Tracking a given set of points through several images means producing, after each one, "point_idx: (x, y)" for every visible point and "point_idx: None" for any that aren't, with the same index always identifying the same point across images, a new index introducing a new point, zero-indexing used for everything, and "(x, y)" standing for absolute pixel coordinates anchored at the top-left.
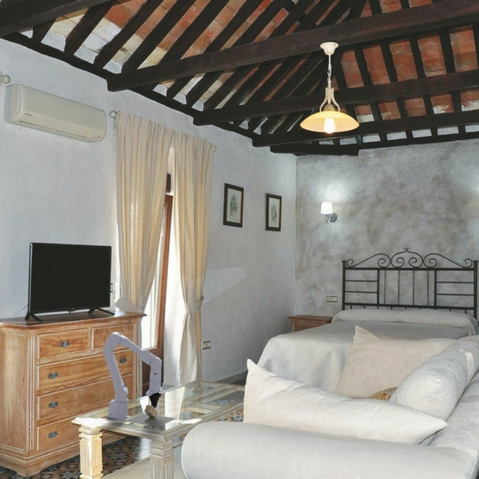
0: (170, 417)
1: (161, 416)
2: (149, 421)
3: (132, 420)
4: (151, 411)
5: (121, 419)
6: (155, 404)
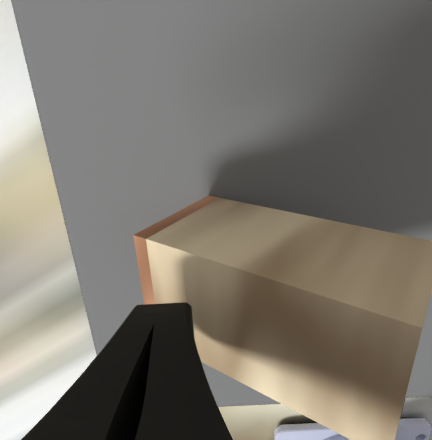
0: (18, 11)
1: (76, 176)
2: (400, 176)
3: (427, 352)
4: (397, 250)
5: (428, 436)
6: (196, 353)
